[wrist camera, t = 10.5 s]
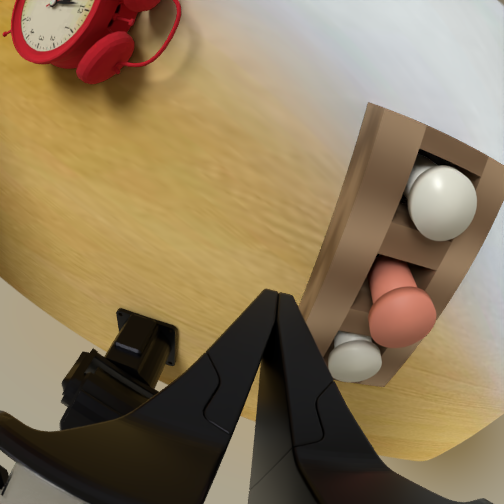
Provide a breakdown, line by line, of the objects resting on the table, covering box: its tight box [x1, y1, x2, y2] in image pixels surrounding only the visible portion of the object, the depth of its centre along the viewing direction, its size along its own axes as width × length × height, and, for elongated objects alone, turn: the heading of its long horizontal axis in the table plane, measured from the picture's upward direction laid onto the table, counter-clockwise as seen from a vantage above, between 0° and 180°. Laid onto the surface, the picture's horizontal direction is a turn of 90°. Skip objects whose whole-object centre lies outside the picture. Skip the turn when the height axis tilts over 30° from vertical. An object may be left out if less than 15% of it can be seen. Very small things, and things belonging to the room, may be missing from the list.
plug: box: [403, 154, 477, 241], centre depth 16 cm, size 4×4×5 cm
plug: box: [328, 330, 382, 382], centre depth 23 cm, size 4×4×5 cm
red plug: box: [367, 255, 436, 348], centre depth 18 cm, size 4×4×5 cm
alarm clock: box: [3, 0, 181, 84], centre depth 13 cm, size 10×6×15 cm
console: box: [298, 102, 504, 387], centre depth 20 cm, size 20×9×4 cm, turn 169°
